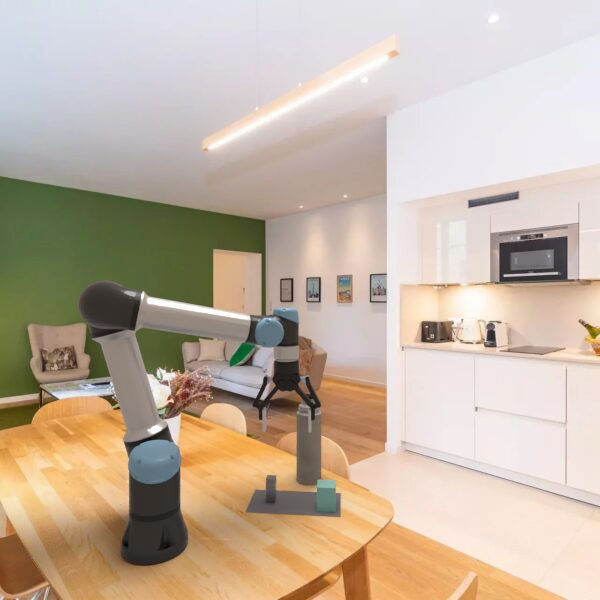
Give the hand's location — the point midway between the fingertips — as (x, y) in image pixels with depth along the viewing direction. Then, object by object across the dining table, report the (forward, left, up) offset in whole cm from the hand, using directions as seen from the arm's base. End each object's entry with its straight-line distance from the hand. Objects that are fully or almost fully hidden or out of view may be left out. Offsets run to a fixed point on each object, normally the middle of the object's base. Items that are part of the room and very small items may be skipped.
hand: (287, 430), depth 128 cm
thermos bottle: (+11, -6, -20) cm, 23 cm away
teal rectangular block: (-7, -12, -19) cm, 23 cm away
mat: (-5, -3, -20) cm, 20 cm away
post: (-5, +4, -19) cm, 20 cm away
